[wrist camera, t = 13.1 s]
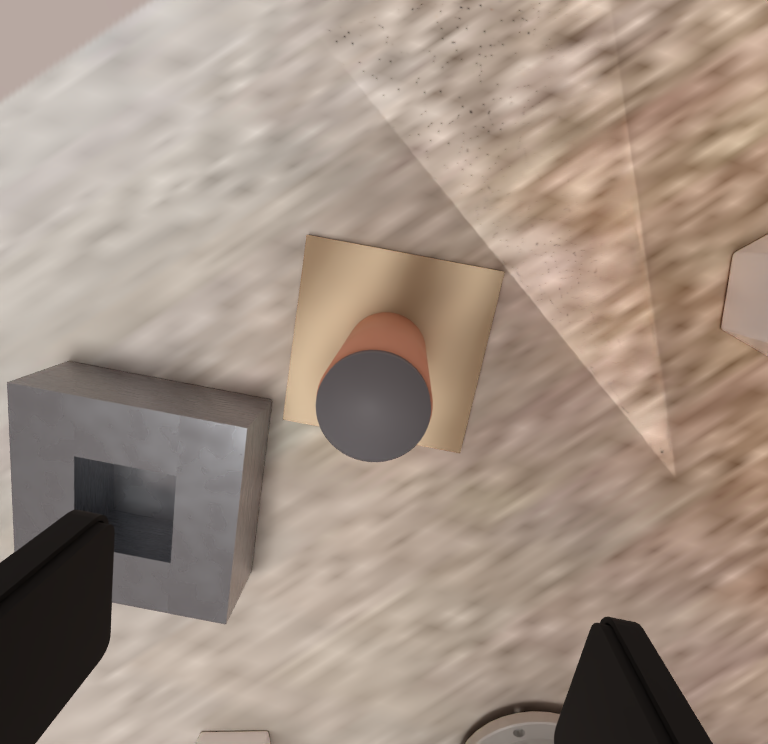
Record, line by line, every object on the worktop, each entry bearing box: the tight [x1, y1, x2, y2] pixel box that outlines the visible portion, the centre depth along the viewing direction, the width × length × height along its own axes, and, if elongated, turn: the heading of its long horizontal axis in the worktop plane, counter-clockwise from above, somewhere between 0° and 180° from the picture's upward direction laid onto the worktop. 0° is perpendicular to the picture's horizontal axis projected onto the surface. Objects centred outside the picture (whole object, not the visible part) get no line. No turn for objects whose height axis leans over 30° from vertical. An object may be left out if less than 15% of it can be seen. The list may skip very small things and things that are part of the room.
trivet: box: [283, 235, 505, 453], centre depth 30 cm, size 12×12×1 cm
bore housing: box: [7, 361, 272, 624], centre depth 31 cm, size 14×14×5 cm
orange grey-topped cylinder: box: [316, 312, 433, 462], centre depth 25 cm, size 5×5×11 cm
